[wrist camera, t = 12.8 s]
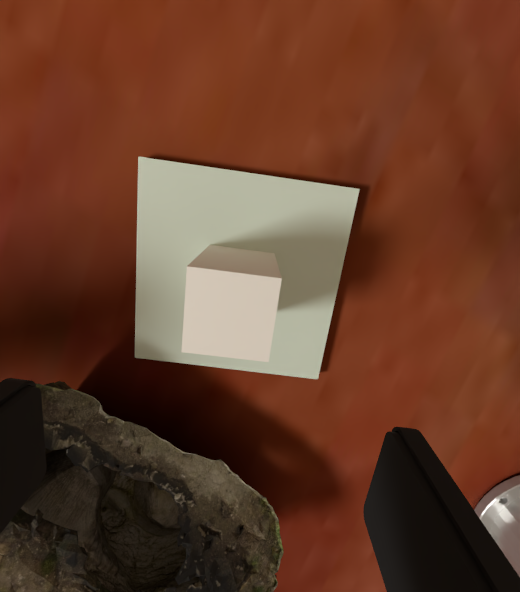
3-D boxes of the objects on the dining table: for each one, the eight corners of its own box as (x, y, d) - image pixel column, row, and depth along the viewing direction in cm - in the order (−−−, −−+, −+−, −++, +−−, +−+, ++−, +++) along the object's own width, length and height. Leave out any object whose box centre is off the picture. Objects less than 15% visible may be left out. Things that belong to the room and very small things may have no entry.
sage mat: (315, 373, 28) (317, 379, 27) (138, 352, 28) (134, 357, 27) (355, 189, 24) (359, 188, 23) (143, 158, 23) (138, 156, 22)
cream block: (265, 313, 25) (268, 362, 18) (204, 305, 25) (181, 352, 18) (274, 253, 24) (281, 278, 16) (209, 244, 24) (186, 266, 16)
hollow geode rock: (54, 343, 33) (-113, 487, 24) (49, 314, 22) (-248, 547, 14) (243, 496, 38) (158, 657, 30) (310, 530, 27) (208, 794, 19)
